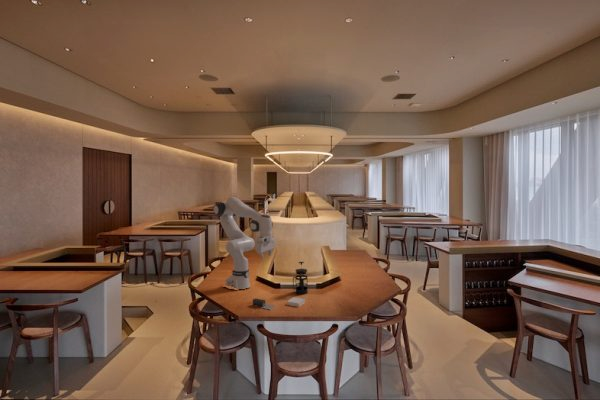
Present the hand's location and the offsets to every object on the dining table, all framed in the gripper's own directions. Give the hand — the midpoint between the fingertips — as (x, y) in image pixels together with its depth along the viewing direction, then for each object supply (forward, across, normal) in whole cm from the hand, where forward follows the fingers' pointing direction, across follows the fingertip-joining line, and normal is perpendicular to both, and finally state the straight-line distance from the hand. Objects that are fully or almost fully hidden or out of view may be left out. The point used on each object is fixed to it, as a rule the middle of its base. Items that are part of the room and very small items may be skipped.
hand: (266, 257), depth 222 cm
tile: (+28, +2, +20) cm, 35 cm away
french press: (+29, -19, +18) cm, 39 cm away
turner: (+29, +16, +7) cm, 34 cm away
